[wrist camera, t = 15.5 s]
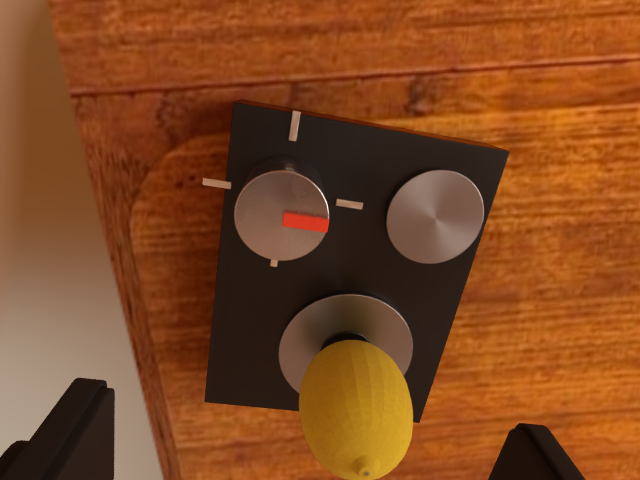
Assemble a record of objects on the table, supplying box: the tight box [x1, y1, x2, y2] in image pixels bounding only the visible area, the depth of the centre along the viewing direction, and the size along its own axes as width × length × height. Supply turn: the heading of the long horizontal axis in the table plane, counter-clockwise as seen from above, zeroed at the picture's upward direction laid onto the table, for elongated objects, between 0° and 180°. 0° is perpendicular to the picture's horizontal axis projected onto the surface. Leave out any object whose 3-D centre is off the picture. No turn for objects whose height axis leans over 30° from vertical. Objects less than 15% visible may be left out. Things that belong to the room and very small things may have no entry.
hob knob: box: [234, 154, 329, 261], centre depth 19 cm, size 4×4×4 cm
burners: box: [279, 168, 484, 394], centre depth 23 cm, size 10×16×1 cm, turn 170°
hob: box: [202, 100, 509, 423], centre depth 25 cm, size 15×18×3 cm
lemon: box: [299, 340, 413, 480], centre depth 21 cm, size 6×6×8 cm
